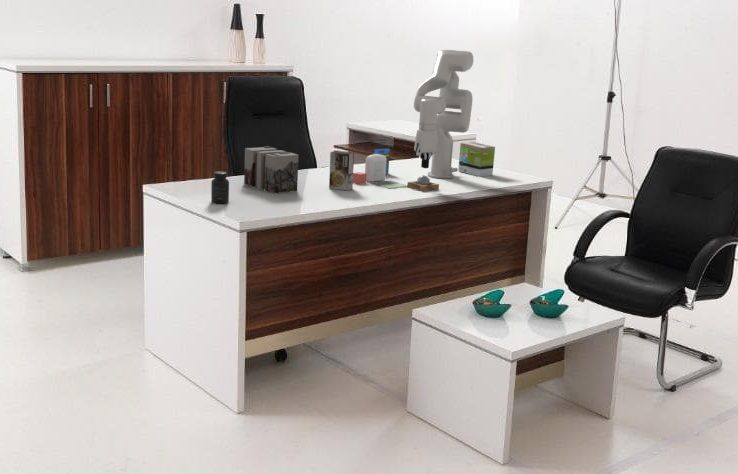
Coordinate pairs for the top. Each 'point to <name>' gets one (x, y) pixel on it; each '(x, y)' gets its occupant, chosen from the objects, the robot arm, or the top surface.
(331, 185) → the coffee box
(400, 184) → the pad
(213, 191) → the supplement bottle
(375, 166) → the photo printer
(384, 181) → the pad
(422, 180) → the dome
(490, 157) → the tea box
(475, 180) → the top surface
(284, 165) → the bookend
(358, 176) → the die
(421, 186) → the frame
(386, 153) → the blue retail box
